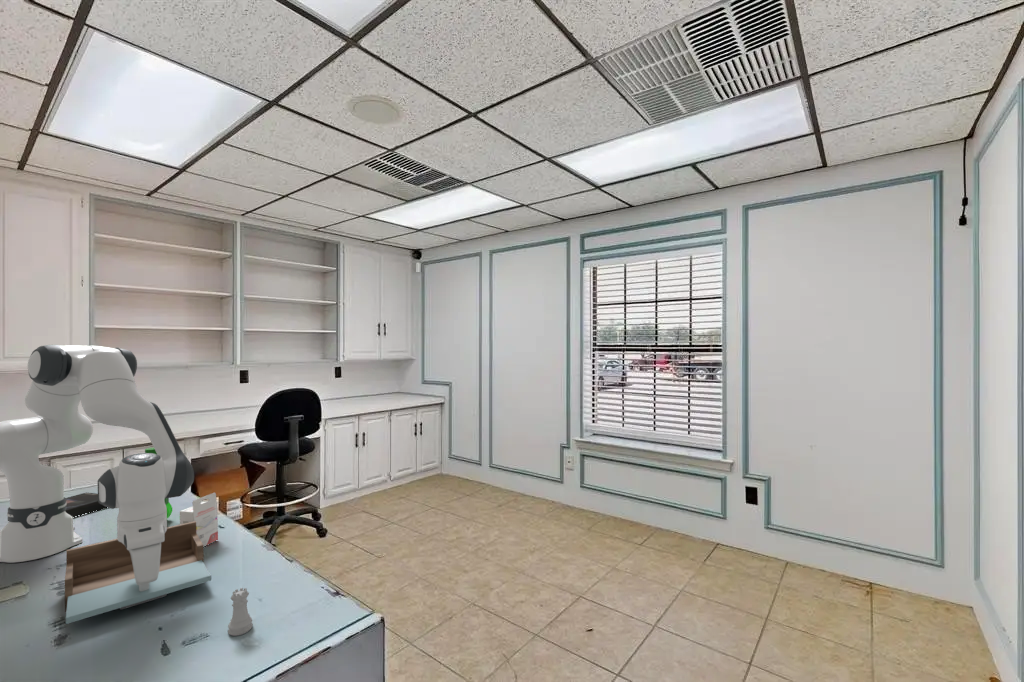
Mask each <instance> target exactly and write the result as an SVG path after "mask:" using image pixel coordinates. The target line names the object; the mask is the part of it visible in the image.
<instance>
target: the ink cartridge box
mask: <svg viewBox="0 0 1024 682" xmlns="http://www.w3.org/2000/svg"><path fill="white" fill-rule="evenodd" d="M204 500H205V501H204ZM206 500H207V501H206ZM191 503H192V506H189V507H187V508H185V509H182V510H179V525H180V524H184V523H189V522H193V521H196V533H197V535H198V537H199V538H200V540H201V542H202V544H203V547H204V546H206V545H208V544H210V543H212V542H214V541H216V540H219V530H218V529H219V527H218V526H219V525H218V524H219V523H218V521H219V519H218V502H217V494H216V492H213V493H209V494H207V495H205V496H202V497H200V498H197V499H195V500H192V502H191ZM216 542H217V541H216ZM214 543H215V542H214ZM212 544H213V543H212ZM210 545H211V544H210ZM208 546H209V545H208ZM206 547H207V546H206ZM204 548H205V547H204Z"/></svg>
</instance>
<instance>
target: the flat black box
mask: <svg viewBox="0 0 1024 682" xmlns="http://www.w3.org/2000/svg"><path fill="white" fill-rule="evenodd" d="M65 498H66V502H67V505H66V510H65V511H66V513H67V514H69V515H71V516H72V517H75V516H78V515H82V514H85V513H89V512H93V511H96V510H99V511H101V510H100V509H103V508H106V506H103V505H101V504H100V503H99V502H98V493H95V492H83V493H79V494H76V495H72V496H68V497H65ZM106 509H107V508H106ZM103 510H104V509H103ZM96 512H97V511H96ZM93 513H94V512H93ZM89 514H90V513H89Z"/></svg>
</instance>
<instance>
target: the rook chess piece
mask: <svg viewBox="0 0 1024 682" xmlns="http://www.w3.org/2000/svg"><path fill="white" fill-rule="evenodd" d="M249 594H250V592H249V591H248V589H247V587H244V588H243V587H240V588H238V589H235V590H234V591H233V592H232V595H231V597H230V599H231V601H232V604H231V606H232V608H233V609H232V615H231V618H230V622H229V623H228V626H227V628H228V630H227V633H228V634H229V635H230V636H232V637H238V636H242V635H244V634H246V633H248V632H249V631H250V630H251V629H252V628H253V626H254V624H253V618H252V617H251V615H250V613H249V611H248V602H249V601H248V599H247V598H248V597H249Z"/></svg>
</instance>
